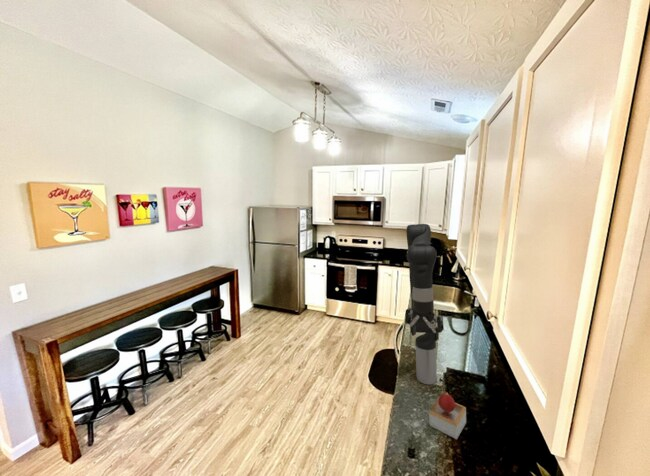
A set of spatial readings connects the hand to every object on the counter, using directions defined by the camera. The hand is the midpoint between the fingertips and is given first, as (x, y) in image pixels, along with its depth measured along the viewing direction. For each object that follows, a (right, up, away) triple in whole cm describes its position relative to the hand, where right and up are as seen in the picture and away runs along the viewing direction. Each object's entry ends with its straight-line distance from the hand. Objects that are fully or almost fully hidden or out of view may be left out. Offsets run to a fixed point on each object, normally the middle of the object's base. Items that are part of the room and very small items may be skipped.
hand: (424, 337), depth 107 cm
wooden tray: (+10, -33, 0) cm, 34 cm away
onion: (+8, -28, -1) cm, 29 cm away
